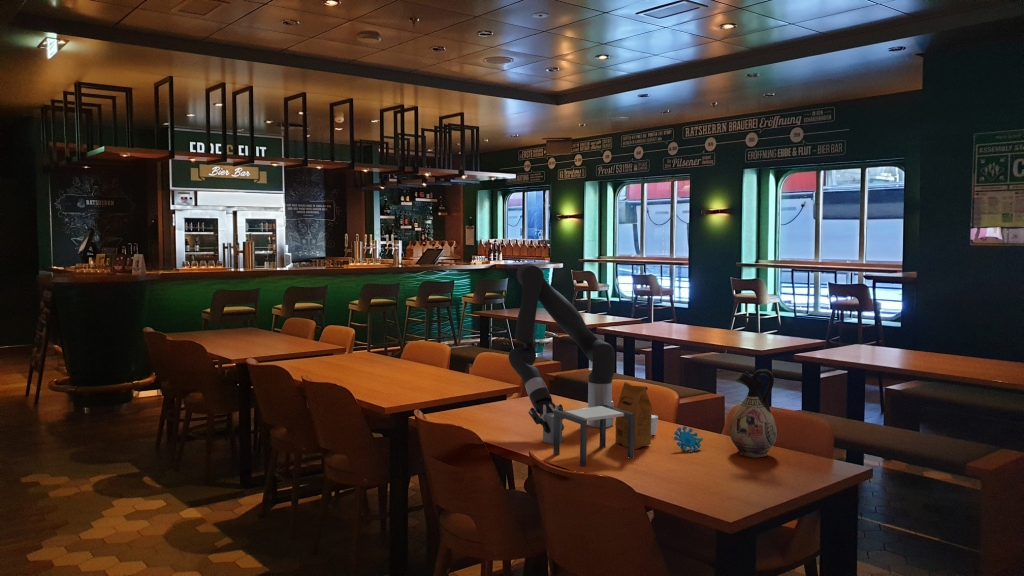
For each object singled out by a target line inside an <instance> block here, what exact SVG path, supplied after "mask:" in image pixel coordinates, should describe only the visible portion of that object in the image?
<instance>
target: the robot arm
mask: <svg viewBox="0 0 1024 576" xmlns="http://www.w3.org/2000/svg"><path fill="white" fill-rule="evenodd" d="M516 278H517V281H518V283H519V284H520V285H521V286H522V288H521V289H522V294H521V302H520V303H521V304H520V307H519V311H518V315H517V319H516V326H515V337H514V338H515V340H516V341H517V342H518V343H523V347H518V348H517V347H516V348H512V349H510V351H509V353H508V361H509V365H510V366H511V367H512V369H513V370H514V371H515V373H516V374H517V375H518V376H519V377H520V378H521V380H522V382H523V385H524V386H525V389H526V393H527V396H528V398H529V401H530V402H531V404H532V407H530V409H529V410H528V414H529V416H530V417H531V418H532V420H533V421H534V424H536V425H540V426H541V427H542V430H543V429H544V431H545V432H546V433H547V434H548V433H550V431H551V430H550V427H549V425H548V423H547V422H546V418H545V414H546V413H554V410H559V411H562V412H563V411H564V407H563V405H562V404H561V403H559V405H557V404H555V403H554V402H553V398H552V396H551V393H550V391H549V389H548V387H547V385H546V383H545V381H544V380H543V378H542V375H541V373H540V371H539V370H538V368H537V367H536V366H534V364H535V362H536V360H537V351H536V346H535V339H534V338H535V337H534V336H535V329H536V317H537V309H538V304H539V302H540V304H541V306H542V307H543V308H544V310H545V311H546V312H547V313H548V315H549V316H550V317H551V318H552V320H553V321H554V322H555V323H556V324H557V325H558V326H559V327H560V328H561V329H562V330H563V331H564V332H565V333H566V334H567V335H568V336H569V337H570V338H571V339H572V340H573V341H574V342H575V343H576V344H577V345H578V347H579V348H580V349H581V351H582V352H583V354H584V355H585V356H586V358H587V359H588V360H589V361H590V362H591V363H592V364H591V365H592V366H591V372H590V373H589V374H588V379H587V380H588V381H587V382H588V385H587V387H588V388H587V390H588V393H587V398H588V399H587V408H589V407H597V406H600V405H602V404H604V405H608V406H611V407H614V408H615V406H614V403H615V402H614V400H613V398H612V395H613V392H612V391H613V377H614V374H615V363H616V361H615V360H616V359H615V358H616V354H615V349H614V346H612V345H611V344H610V343H608V342H606V341H602V340H601V339H600V338H598V336H596V335H595V334H594V333H593V332H592V331H591V330H590V329H589V328H588V326H587V324H586V322H585V320H584V318H583V316H582V315H581V313H580V312H579V311H578V310H577V308H576V307H575V306H574V305H573V304H572V303H571V302H570V301H569V300H568V299H567V298H566V297H565V296H564V295H562V294H561V293H560V292H559V291H558V290H556V289H555V288H554V287H553V286H552V285H551V284H550V283H549V282H548V281H547V279H546V278H545V274H544V270H543V269H542V268H541V267H540V266H539V265H537V264H534V263H532V262H528V263H523V264H521V265H520V266H519V267H518V269H517V272H516ZM563 420H564V419H562V421H563ZM587 426H589V427H592V428H599V429H600V419H598V420H591V421H587ZM611 426H614V417H613V418H606V428H610V427H611ZM564 429H565V426H564V423H563V422H562V432H563V431H564Z"/></svg>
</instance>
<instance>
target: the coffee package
mask: <svg viewBox="0 0 1024 576" xmlns="http://www.w3.org/2000/svg"><path fill="white" fill-rule="evenodd" d="M622 385H623V386H622V388H621V392H620V396H619V399H618V403H617V405H616V406H617V407H616V408H617V409H621V410H624V411H627V412H630V413H634V414H635V415H634V450H638V449H639V448H642V447H647V446H650V445H651V444H652V441H651V438H652V436H651V414H652V411H653V407H652V406H653V405H652V403H651V400H650V398H649V396H648V392H647V391H648V386H645V385H632V384H630V383H629V382H628V381H625V382H624V383H623V384H622ZM614 423H615V424H614V425H615V440H614V441H615V444H616V443H617V444H618V445H622V447H624V446H625V447H624V448H627V447H628V418H627V417H624V416H621V417H615V422H614Z"/></svg>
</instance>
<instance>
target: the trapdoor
mask: <svg viewBox="0 0 1024 576" xmlns="http://www.w3.org/2000/svg"><path fill="white" fill-rule="evenodd" d="M563 412H565V413H568V414H571V415H574V416H576V417H579V418H582V419H585V420H587V422H588V421H591V420H598V419H606V418H613V419H614V418H616V417H621V416H624V413H622V412H619V411H616V410H612V409H609V408H606V407H603V406H597V407H589V408H588V407H584V408H583V407H582V408H575V409H574V408H573V409H567V410H564V409H563Z"/></svg>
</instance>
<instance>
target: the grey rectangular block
mask: <svg viewBox="0 0 1024 576" xmlns="http://www.w3.org/2000/svg"><path fill="white" fill-rule="evenodd" d="M545 418H546V422H547V423H548V425H549V427H550V430H551V431H550V433H548V434H547V433H546V432H545V431H544V429H543V428H542V442H544V443H547V444H549V445H553V444H554V413H546V414H545ZM562 423H563V420H562V419H560V444H561V443H563V431H562Z"/></svg>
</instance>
